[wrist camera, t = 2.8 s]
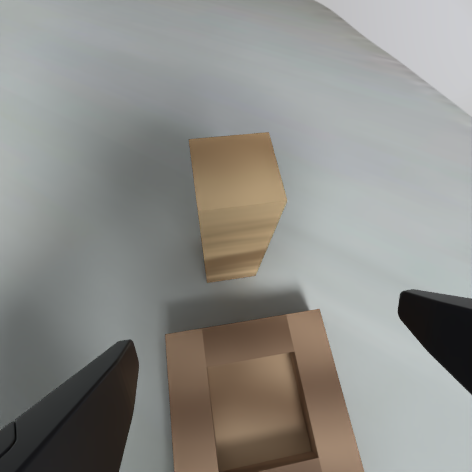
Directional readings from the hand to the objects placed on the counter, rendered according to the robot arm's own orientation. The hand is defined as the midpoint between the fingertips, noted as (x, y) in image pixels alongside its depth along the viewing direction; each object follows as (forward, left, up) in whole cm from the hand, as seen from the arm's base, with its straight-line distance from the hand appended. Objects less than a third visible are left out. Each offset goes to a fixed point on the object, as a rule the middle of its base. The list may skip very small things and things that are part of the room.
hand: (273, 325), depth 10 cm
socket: (-3, +2, -13) cm, 14 cm away
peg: (+6, -4, -13) cm, 15 cm away
